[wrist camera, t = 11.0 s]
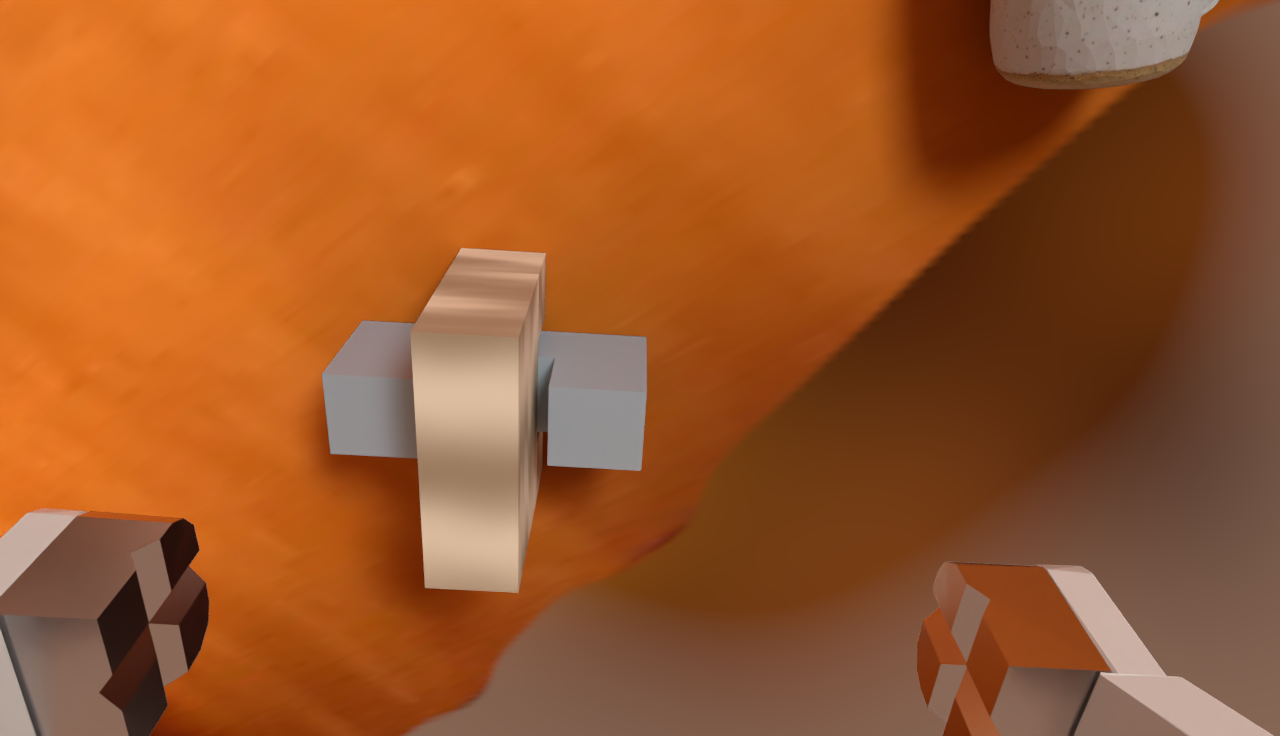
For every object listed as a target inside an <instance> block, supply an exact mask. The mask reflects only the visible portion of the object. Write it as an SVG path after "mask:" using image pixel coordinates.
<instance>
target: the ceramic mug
mask: <svg viewBox="0 0 1280 736" xmlns="http://www.w3.org/2000/svg"><path fill="white" fill-rule="evenodd" d="M1218 1H1219V0H991V6H990V24H989V25H990V43H991V50H992V56H993V62H994V65H995V69H996V71H997V72H998V73H999V74H1000V75H1001V76H1002V77H1003V78H1005V79H1006V80H1007V81H1009V82H1011V83H1013V84H1017V85H1021V86H1025V87H1033V88H1041V89H1093V88H1104V87H1115V86H1123V85H1128V84H1133V83H1138V82H1142V81H1146V80H1150V79H1154V78H1158V77H1160V76H1162V75H1165V74H1167V73H1168V72H1170V71H1172V70H1173V69H1174V68H1175V67H1177V66H1178V65H1180V64H1181V63H1182V62H1183V61H1184V60H1185V59H1186V57H1187V54H1188V52H1189V50H1190V47H1191V45H1192V43H1193V41H1194V38H1195V35H1196V32H1197V30H1198V27H1199V23H1200V18H1201V16H1203V15H1204V14H1205V13H1207V12H1208V11H1210V10H1211V9H1212V8H1213V7H1214V6H1215V5H1216V4H1217V2H1218Z"/></svg>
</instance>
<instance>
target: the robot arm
mask: <svg viewBox="0 0 1280 736" xmlns="http://www.w3.org/2000/svg"><path fill="white" fill-rule="evenodd" d="M198 552H199V545H198V541H197V537H196V533H195V529H194V525H193V524H191V523H190V522H188V521H187V520H185V519H184V518H174V517H161V516H148V515H136V514H123V513H110V512H97V511H90V512H85V511H77V510H62V509H48V508H42V509H39V510H35V511H32V512H28V513H27V514H26V515H24V516H23V517H22V518H21V519H20V520H19V521H18V522H17V523H16V524H15V525H14V526H13V527H12V528H11V529H10V530H9V531H8V532H7V533H6V534H4V535H3V536H2V537H1V538H0V736H150V734H151V732H152V731H153V729H154V727H155V726H156V724H157V722H158V721H159V719H160V717H161V716H162V714H163V713H164V711H165V709H166V708H167V706H168V704H167V700H166V695H165V691H164V686H166V685H168V684H169V683H171V682H172V681H174V680H175V679H177V678H179V677H180V676H182V675H183V674H185V673H186V672H188V671H189V669H190V667H191V666H192V664H193V662H194V660H195V659H196V657H197V655H198V653H199V651H200V650H201V646H202V643H203V639H204V636H205V632H206V629H207V625H208V617H209V598H208V592H207V586H206V583H205V582H204V581H203V580H202V579H201V578H200V577H199V576H198V575H197V574H196V573H195V572H194V571H193V570H192V569H191V568H190V567H189V565H190V563H191V562H192V560H193V559H194V557H195V556H196V554H197V553H198ZM932 590H933V593H934V595H935V597H936V599H937V602H938V604H939V606H940V608H938V609H937V610H936V611H935V612H934V613H932V614H931V615H930V616H929V617H927V618H926V619H925V620H924V621H923V624H922V628H921V632H920V636H919V640H918V645H917V646H918V647H917V671H918V676H919V681H920V686H921V690H922V693H923V696H924V698H925V701H926V704H927V707H928V708H929V709H930V710H931V711H932V712H934V713H935V714H936V715H937V716H938V717H939V718H940V719H942V720H943V721H944V722H945V723H946V727H945V730H944V734H943V736H1273V735H1272V734H1270V733H1268V732H1267V731H1265V730H1264V729H1262V728H1261V727H1259V726H1257V725H1256V724H1254V723H1252V722H1251V721H1250V720H1248V719H1246V718H1245V717H1243V716H1242V715H1240V714H1238V713H1237V712H1235V711H1234V710H1232V709H1231V708H1229V707H1227V706H1226V705H1224V704H1223V703H1221V702H1219V701H1218V700H1217V699H1215V698H1213V697H1212V696H1210V695H1209V694H1207V693H1206V692H1204V691H1202V690H1201V689H1199V688H1198V687H1196V686H1194V685H1193V684H1191V683H1190V682H1188V681H1187V680H1185V679H1183V678H1182V677H1172V676H1166V675H1165V673H1164V672H1163V671H1162V669H1161V668H1160V666H1159V665H1158V664H1157V662H1156V661H1155V660H1154V658H1153V657H1152V656H1151V654H1150V652H1149V651H1148V650H1147V648H1146V647H1145V646H1144V644H1143V643H1142V642H1141V640H1140V639H1139V637H1138V636H1137V635H1136V633H1135V632H1134V630H1133V629H1132V628H1131V626H1130V625H1129V623H1128V622H1127V621H1126V619H1125V618H1124V617H1123V615H1122V614H1121V612H1120V611H1119V610H1118V608H1117V607H1116V605H1115V604H1114V603H1113V601H1112V600H1111V599H1110V597H1109V596H1108V594H1107V593H1106V592H1105V590H1104V589H1103V588H1102V586H1101V585H1100V583H1099V582H1098V581H1097V579H1096V578H1095V576H1094V575H1093V574H1092V573H1091V572H1090V571H1088V570H1087V569H1085V568H1083V567H1081V566H1064V565H1035V566H1024V565H1005V564H986V563H985V564H984V563H965V562H947V561H946V562H945V563H944V564H943V566H942V567H941V568H940V570H939V571H938V573H937V577H936V580H935V583H934V586H933V589H932Z"/></svg>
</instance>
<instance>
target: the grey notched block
mask: <svg viewBox="0 0 1280 736" xmlns="http://www.w3.org/2000/svg"><path fill="white" fill-rule="evenodd" d="M414 325H415V324H414V323H397V322H380V321H362V322H361V323H360V325H359V326H358V327H357V328H356V330H355V331H354V332H353V334H352V335H351V336H350V338H349V339H348V340H347V342H346V343H345V344H344V346H343V347H342V348H341V350H340V351H339V352H338V353H337V355H336V356H335V357H334V359H333V360H332V361H331V363H330V364H329V365H328V367H327V368H326V369H325V371H324V372H323V373H322V380H323V389H324V399H325V408H326V417H327V426H328V436H329V445H330V454H343V455H362V456H380V457H398V458H417V441H416V423H415V406H414V388H413V371H412V354H411V336H410V331H411V329H412V328H413V326H414ZM646 396H647V352H646V337H638V336H620V335H603V334H586V333H569V332H552V331H541V333H540V337H539V340H538V403H537V432H548V455H547V466H563V467H582V468H600V469H618V470H637V471H641V465H642V451H643V437H644V424H645V410H646ZM417 459H418V458H417Z"/></svg>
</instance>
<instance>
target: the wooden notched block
mask: <svg viewBox="0 0 1280 736" xmlns="http://www.w3.org/2000/svg"><path fill="white" fill-rule="evenodd" d="M545 279H546V253H535V252H519V251H502V250H485V249H469V248H461V249H460V251H459V253H458V254H457V256H456V258H455V259H454V261H453V263H452V264H451V266H450V267H449V269H448V271H447V272H446V274H445V276H444V277H443V279H442V280H441V282H440V284H439V285H438V287H437V289H436V290H435V292H434V294H433V295H432V297H431V298H430V300H429V302H428V303H427V305H426V307H425V308H424V310H423V312H422V313H421V315H420V316H419V318H418V320H417V321H416V323H415V325H414V326H413V328H412V329H411V331H410V336H411V354H412V371H413V388H414V406H415V423H416V441H417V458H418V475H419V493H420V510H421V527H422V545H423V562H424V579H425V588H436V589H455V590H475V591H494V592H514V593H518V591H519V586H520V581H521V576H522V571H523V566H524V561H525V556H526V550H527V545H528V540H529V535H530V530H531V525H532V520H533V515H534V509H535V504H536V499H537V494H538V489H539V484H540V479H541V474H542V469H543V432H537V403H538V340H539V337H540V333H541V329H542V325H543V322H544V318H545Z"/></svg>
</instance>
